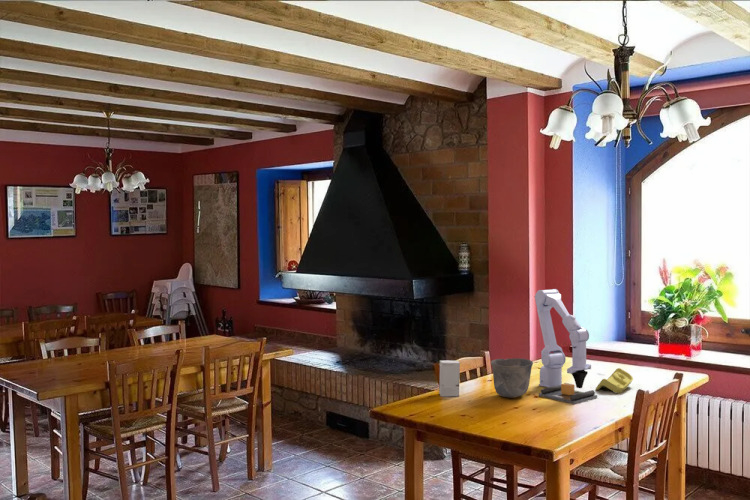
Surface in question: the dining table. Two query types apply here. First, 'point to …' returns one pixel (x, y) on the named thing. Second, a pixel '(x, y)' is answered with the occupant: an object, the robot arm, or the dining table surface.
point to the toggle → (567, 389)
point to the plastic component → (616, 381)
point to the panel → (566, 396)
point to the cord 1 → (551, 389)
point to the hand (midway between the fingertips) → (579, 387)
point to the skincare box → (449, 378)
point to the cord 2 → (582, 395)
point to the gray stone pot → (511, 376)
